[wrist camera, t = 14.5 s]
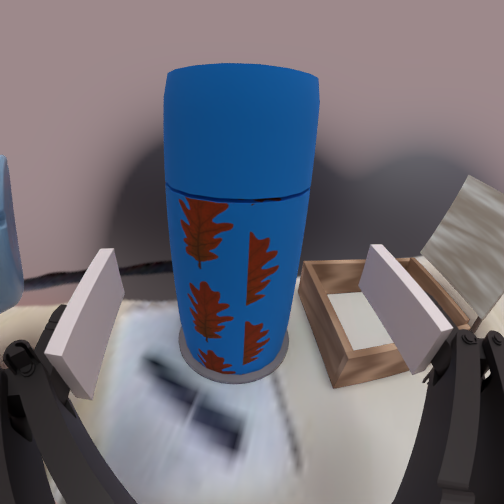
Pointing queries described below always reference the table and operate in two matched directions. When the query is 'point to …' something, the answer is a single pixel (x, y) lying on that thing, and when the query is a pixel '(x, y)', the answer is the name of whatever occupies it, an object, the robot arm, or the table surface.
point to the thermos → (237, 204)
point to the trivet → (229, 377)
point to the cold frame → (441, 257)
